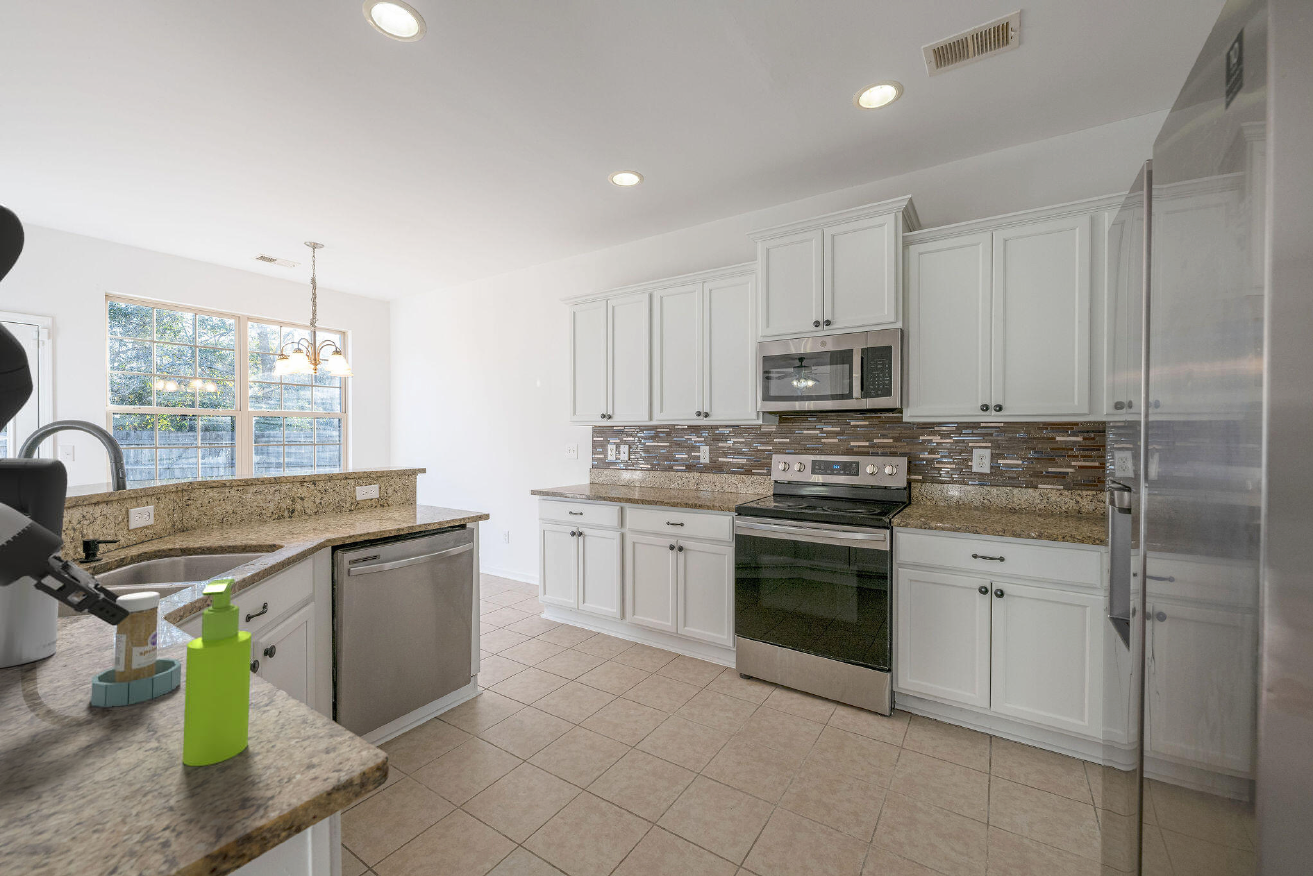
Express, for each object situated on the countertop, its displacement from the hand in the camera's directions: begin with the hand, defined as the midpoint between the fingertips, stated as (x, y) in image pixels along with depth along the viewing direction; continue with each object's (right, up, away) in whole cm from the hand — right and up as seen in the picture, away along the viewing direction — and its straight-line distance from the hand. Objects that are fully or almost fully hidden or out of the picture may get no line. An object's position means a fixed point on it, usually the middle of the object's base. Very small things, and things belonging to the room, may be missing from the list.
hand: (120, 612), depth 76 cm
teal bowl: (+1, -12, +1) cm, 12 cm away
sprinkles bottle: (+1, -11, +1) cm, 12 cm away
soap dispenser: (+25, -12, -14) cm, 31 cm away
